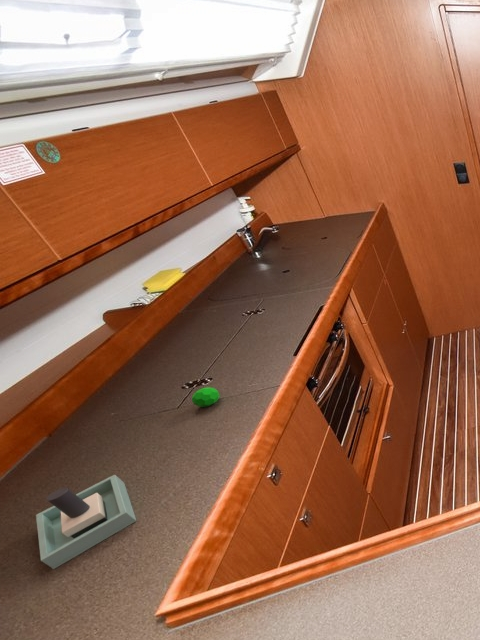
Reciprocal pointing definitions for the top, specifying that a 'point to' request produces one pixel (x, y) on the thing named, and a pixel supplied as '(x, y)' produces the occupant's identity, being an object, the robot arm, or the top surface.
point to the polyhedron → (205, 397)
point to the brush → (78, 511)
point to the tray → (64, 548)
